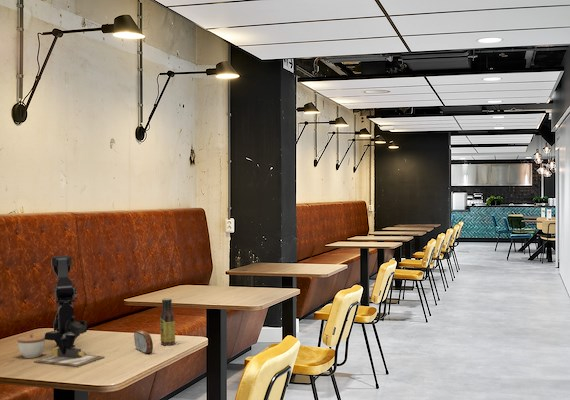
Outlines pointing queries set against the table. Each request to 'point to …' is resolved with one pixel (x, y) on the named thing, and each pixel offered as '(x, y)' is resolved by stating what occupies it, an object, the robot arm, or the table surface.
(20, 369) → the table surface
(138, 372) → the table surface
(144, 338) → the tin
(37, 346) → the lidded jar
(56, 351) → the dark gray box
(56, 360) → the writing board
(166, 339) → the sauce bottle
